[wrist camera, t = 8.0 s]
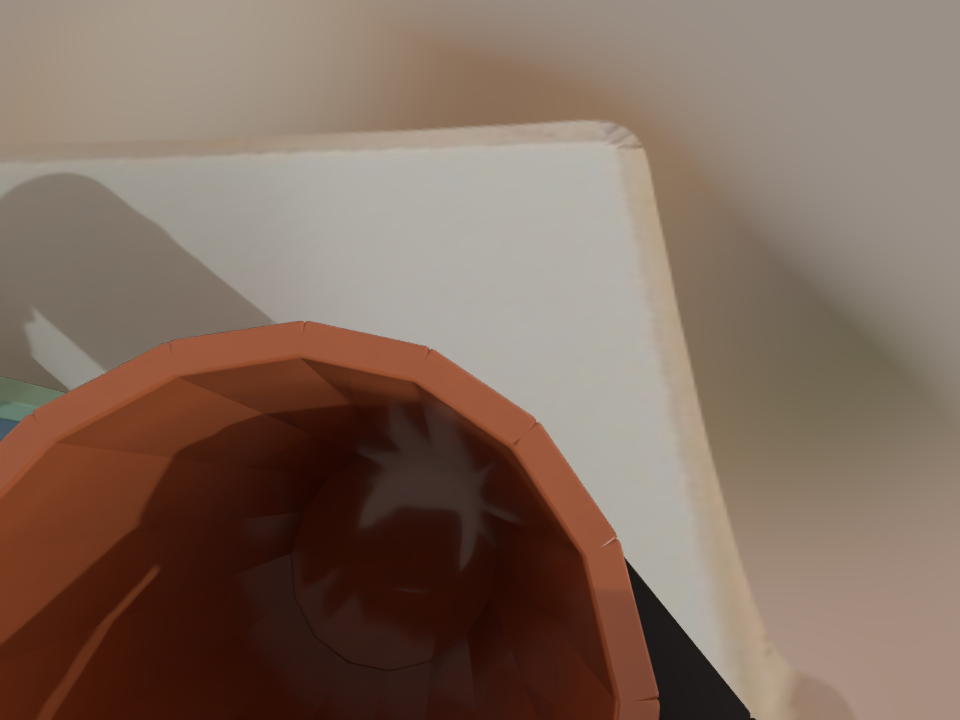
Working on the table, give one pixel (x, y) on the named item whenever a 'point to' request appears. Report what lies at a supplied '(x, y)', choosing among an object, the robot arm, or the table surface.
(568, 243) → the table surface
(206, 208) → the table surface
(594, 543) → the cup
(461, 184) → the table surface
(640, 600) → the robot arm
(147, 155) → the table surface
